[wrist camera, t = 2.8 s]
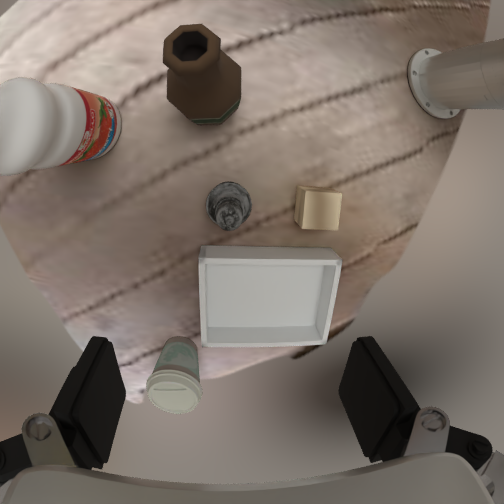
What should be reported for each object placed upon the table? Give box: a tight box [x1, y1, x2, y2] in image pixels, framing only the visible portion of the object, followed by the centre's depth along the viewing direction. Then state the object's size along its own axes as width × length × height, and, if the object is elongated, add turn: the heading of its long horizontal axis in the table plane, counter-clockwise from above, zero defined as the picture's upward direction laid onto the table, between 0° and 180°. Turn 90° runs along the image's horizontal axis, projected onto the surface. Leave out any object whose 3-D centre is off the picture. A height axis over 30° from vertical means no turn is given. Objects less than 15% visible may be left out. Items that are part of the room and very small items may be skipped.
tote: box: [199, 245, 342, 347], centre depth 44 cm, size 20×15×5 cm
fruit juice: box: [0, 77, 121, 176], centre depth 23 cm, size 9×9×28 cm
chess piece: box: [206, 182, 252, 231], centre depth 36 cm, size 6×6×12 cm
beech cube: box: [294, 186, 342, 230], centre depth 40 cm, size 5×5×5 cm
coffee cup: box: [146, 337, 202, 414], centre depth 44 cm, size 8×8×12 cm
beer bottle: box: [163, 24, 241, 125], centre depth 25 cm, size 8×8×24 cm
